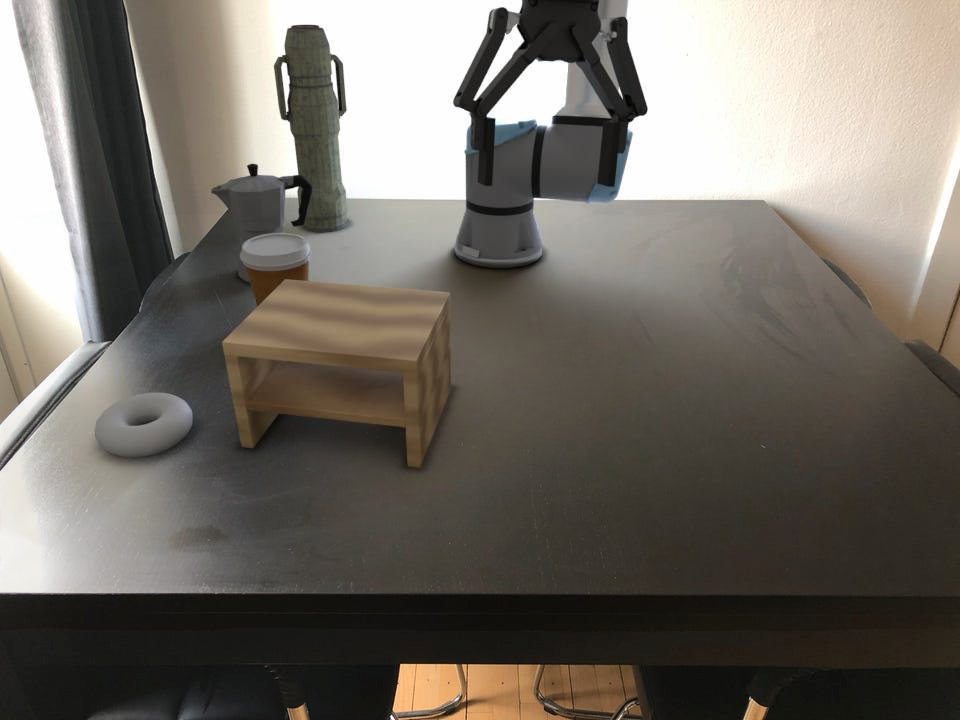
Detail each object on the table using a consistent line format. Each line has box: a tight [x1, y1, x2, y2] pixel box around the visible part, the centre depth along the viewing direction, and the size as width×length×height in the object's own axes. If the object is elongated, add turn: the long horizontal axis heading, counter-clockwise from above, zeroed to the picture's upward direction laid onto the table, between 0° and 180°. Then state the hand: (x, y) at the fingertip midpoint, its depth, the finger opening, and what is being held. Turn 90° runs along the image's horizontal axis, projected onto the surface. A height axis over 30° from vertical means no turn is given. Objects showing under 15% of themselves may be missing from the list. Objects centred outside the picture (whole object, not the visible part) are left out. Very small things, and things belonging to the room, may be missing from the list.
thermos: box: [273, 24, 349, 233], centre depth 134 cm, size 9×12×35 cm
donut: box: [94, 392, 193, 458], centre depth 81 cm, size 10×4×10 cm
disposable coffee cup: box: [240, 232, 313, 308], centre depth 103 cm, size 10×10×12 cm
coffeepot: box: [210, 163, 313, 283], centre depth 118 cm, size 15×9×18 cm, turn 113°
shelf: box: [221, 279, 452, 469], centre depth 83 cm, size 16×20×13 cm
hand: (546, 185), depth 78 cm, fingers open, 13 cm apart
